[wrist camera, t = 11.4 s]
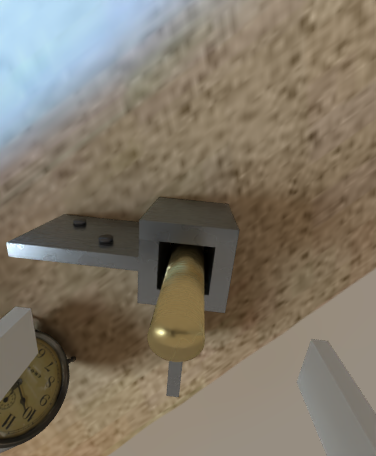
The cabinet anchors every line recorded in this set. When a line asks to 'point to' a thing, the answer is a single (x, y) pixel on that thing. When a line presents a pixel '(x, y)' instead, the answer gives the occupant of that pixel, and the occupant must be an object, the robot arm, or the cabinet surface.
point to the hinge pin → (180, 307)
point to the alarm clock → (35, 394)
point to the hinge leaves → (143, 249)
